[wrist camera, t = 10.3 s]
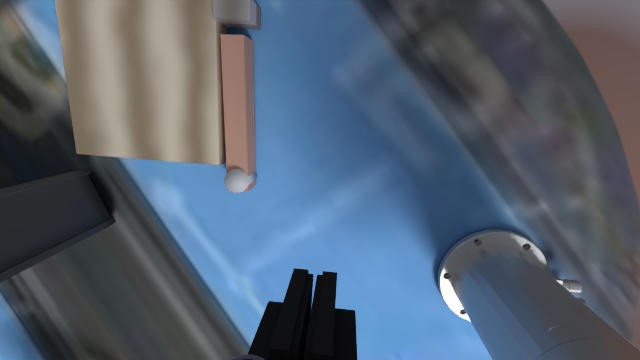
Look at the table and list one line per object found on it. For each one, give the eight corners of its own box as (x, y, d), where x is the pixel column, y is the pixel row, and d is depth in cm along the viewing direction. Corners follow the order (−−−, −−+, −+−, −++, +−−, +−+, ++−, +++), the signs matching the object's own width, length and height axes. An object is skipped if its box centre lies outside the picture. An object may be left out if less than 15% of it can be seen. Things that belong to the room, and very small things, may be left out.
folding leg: (256, 185, 37) (247, 193, 33) (236, 183, 37) (225, 192, 34) (253, 40, 33) (243, 33, 29) (230, 40, 33) (217, 33, 30)
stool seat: (260, -4, 32) (250, -18, 28) (259, 162, 36) (249, 168, 33) (77, -12, 33) (45, -25, 30) (97, 150, 38) (72, 154, 34)
